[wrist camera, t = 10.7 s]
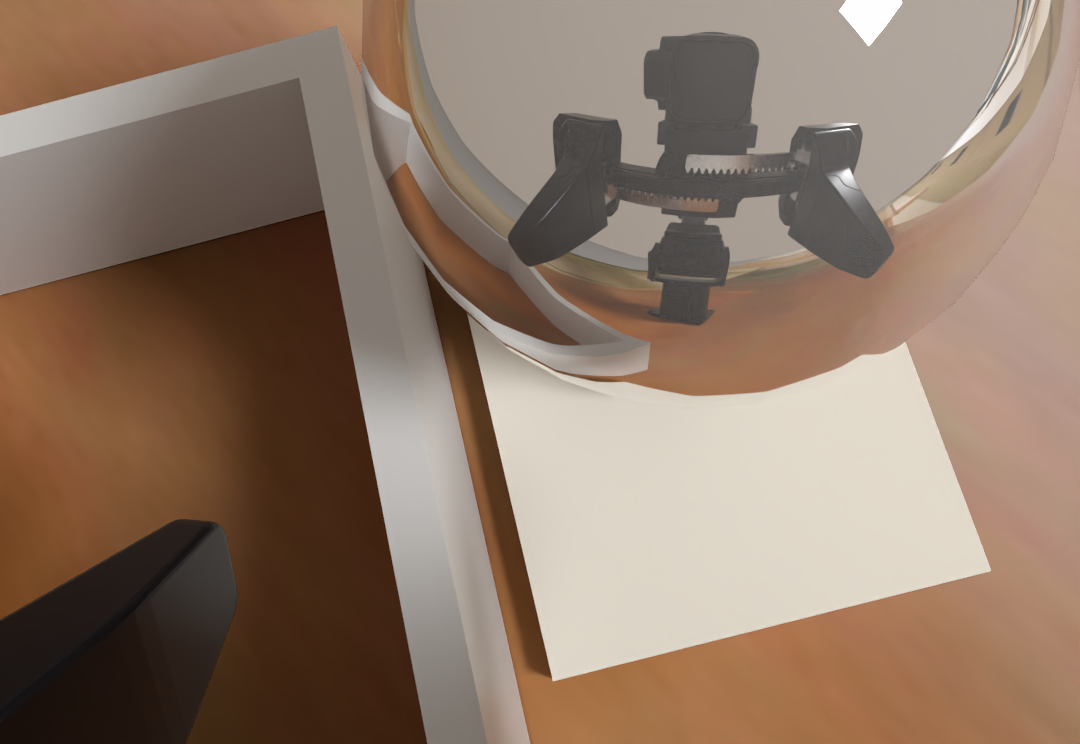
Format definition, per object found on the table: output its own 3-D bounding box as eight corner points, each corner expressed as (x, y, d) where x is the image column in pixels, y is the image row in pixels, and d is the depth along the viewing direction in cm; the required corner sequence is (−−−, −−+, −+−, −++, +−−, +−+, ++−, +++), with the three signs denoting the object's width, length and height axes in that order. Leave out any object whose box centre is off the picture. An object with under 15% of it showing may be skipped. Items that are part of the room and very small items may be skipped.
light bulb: (425, 274, 18) (83, -311, 7) (714, 106, 19) (861, -719, 7) (605, 575, 16) (558, 481, 5) (921, 381, 17) (1580, -137, 5)
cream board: (980, 572, 16) (990, 571, 16) (555, 679, 16) (552, 680, 16) (777, 27, 20) (780, 11, 19) (424, 120, 20) (419, 107, 19)
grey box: (561, 883, 16) (539, 988, 11) (-238, 1081, 16) (-561, 1257, 12) (399, 156, 20) (336, 25, 15) (-237, 324, 20) (-476, 243, 15)
